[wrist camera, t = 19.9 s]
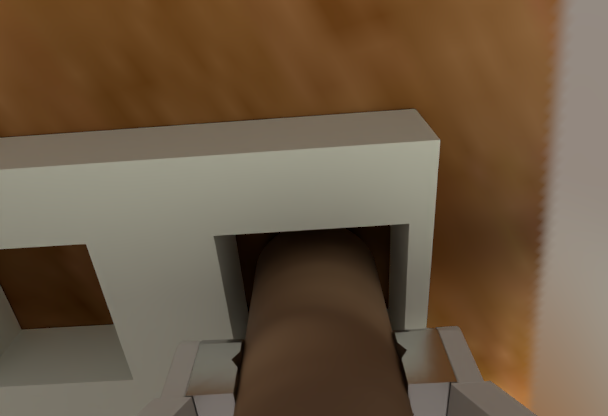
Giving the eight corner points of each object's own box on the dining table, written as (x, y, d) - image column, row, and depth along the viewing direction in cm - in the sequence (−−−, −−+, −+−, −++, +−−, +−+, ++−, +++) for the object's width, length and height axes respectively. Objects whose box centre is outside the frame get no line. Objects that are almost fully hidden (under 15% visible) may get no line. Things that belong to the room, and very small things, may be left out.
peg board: (26, 372, 17) (-16, 434, 15) (-89, 144, 13) (-172, 181, 10) (404, 352, 16) (420, 412, 14) (415, 108, 12) (440, 140, 10)
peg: (262, 324, 14) (225, 666, 7) (248, 227, 13) (182, 548, 6) (375, 318, 14) (448, 658, 7) (376, 219, 13) (471, 536, 6)
